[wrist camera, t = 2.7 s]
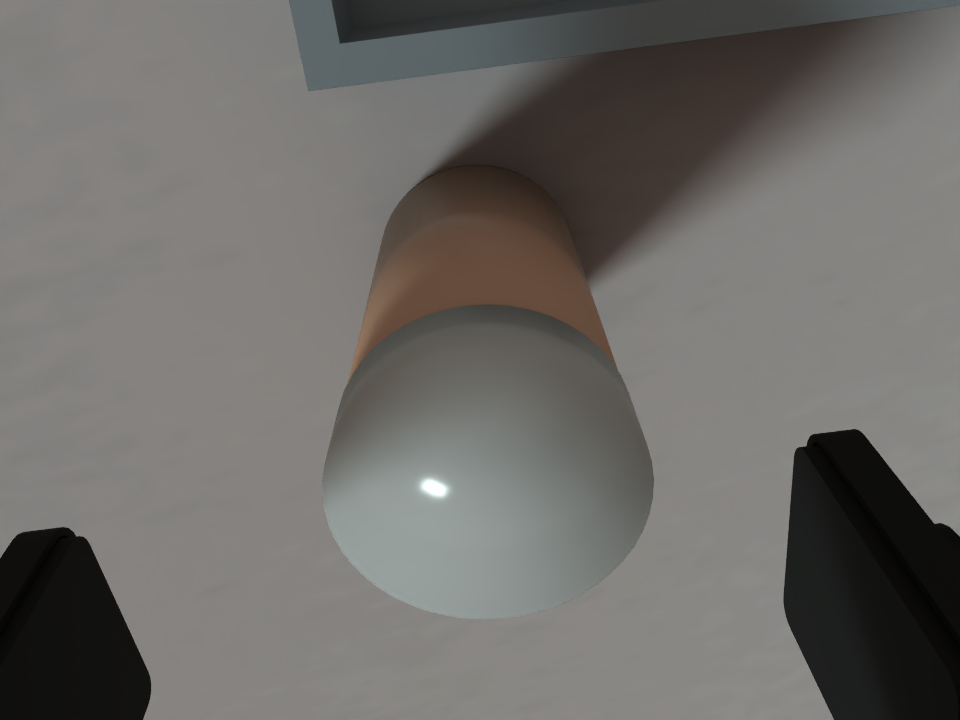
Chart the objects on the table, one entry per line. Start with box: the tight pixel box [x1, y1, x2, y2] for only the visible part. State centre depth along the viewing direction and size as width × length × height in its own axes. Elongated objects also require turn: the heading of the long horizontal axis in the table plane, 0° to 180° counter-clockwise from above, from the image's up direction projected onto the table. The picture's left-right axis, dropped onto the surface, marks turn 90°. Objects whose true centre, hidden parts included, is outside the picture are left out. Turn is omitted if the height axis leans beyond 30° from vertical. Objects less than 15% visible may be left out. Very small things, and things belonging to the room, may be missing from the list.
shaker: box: [322, 165, 654, 619], centre depth 17 cm, size 5×5×10 cm
